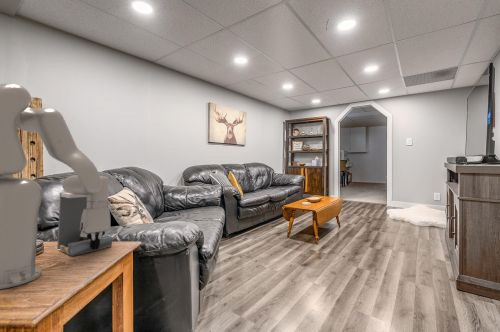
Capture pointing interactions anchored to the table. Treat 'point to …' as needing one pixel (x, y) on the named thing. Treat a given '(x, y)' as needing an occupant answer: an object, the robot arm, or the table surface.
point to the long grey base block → (85, 246)
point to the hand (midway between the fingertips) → (94, 248)
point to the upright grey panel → (70, 217)
